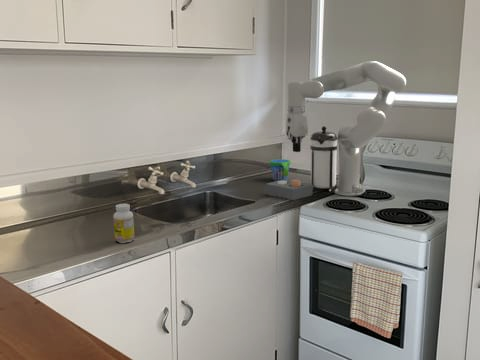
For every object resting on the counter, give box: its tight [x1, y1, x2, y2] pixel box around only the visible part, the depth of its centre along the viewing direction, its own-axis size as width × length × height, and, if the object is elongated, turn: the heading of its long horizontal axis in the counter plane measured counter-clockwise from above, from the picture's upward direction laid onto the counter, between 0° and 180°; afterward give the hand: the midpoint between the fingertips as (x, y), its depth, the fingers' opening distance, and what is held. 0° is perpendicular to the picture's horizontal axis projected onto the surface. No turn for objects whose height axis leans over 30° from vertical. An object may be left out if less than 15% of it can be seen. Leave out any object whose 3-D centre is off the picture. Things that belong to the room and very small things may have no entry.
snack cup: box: [269, 158, 292, 182], centre depth 280 cm, size 16×10×10 cm
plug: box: [277, 181, 287, 185], centre depth 251 cm, size 4×4×5 cm
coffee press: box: [309, 126, 338, 193], centre depth 258 cm, size 17×16×30 cm
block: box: [265, 179, 313, 201], centre depth 249 cm, size 17×13×5 cm
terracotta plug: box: [290, 179, 302, 187], centre depth 245 cm, size 4×4×5 cm
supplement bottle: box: [112, 203, 135, 240], centre depth 186 cm, size 7×7×13 cm
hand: (296, 151), depth 242 cm, fingers closed
